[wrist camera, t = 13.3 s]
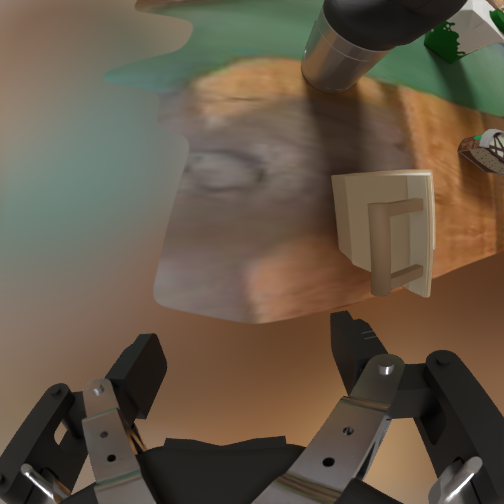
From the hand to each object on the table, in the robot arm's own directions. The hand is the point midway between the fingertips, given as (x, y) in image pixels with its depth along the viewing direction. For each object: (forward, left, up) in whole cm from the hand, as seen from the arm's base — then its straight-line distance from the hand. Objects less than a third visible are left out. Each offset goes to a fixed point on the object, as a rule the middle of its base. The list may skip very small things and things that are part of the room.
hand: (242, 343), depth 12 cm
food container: (-10, +46, -32) cm, 57 cm away
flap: (0, +15, -17) cm, 23 cm away
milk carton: (-33, +43, -32) cm, 63 cm away
